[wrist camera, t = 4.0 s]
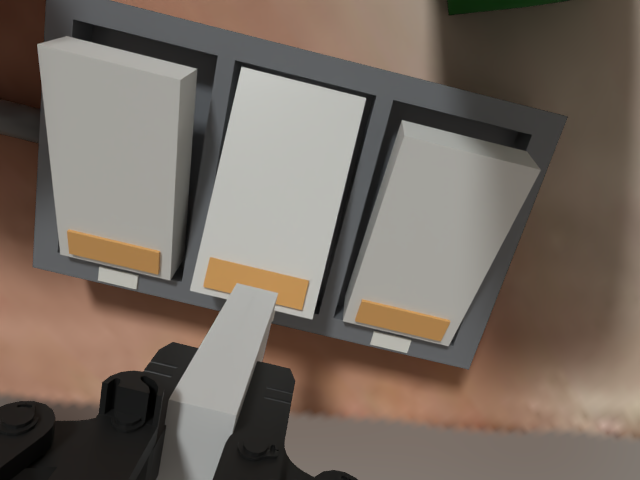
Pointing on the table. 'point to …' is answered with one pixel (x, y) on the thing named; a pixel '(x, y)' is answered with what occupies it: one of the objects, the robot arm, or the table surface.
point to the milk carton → (491, 5)
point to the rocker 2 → (278, 190)
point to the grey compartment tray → (363, 176)
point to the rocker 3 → (435, 231)
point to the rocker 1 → (118, 153)
